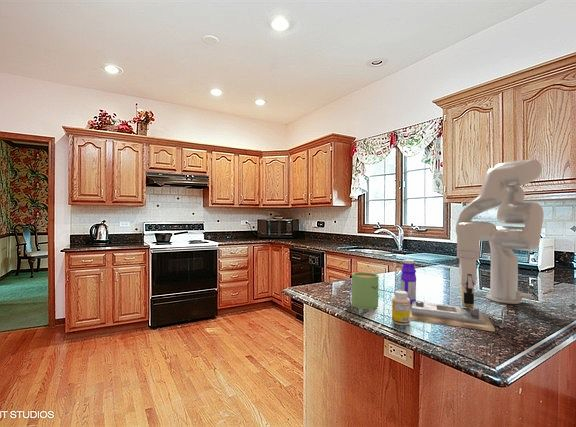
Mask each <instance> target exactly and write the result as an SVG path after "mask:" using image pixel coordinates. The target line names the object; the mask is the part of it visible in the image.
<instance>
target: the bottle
mask: <svg viewBox="0 0 576 427" xmlns="http://www.w3.org/2000/svg"><path fill="white" fill-rule="evenodd" d="M416 273H417V270H416V267H415V260H414V259H407V258H406V259H403V265H402V268H401V275H400V280H401V281H400V284H401V285H400V291H405V292H407V293H408V297H407V298H409V299H410V305H412V302H413V301H415V302H417V294H416V293H417V275H416Z"/></svg>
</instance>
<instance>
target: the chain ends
mask: <svg viewBox="0 0 576 427" xmlns="http://www.w3.org/2000/svg"><path fill="white" fill-rule="evenodd" d="M411 306H412V315H419V316H426V317H433V318H440V319H448V320H455V321H462V322H470V323H477V324H484V325H486V320H485V319H484V317H483V315H484V314H482V312H480V308H477V307H474V308H469V309H470V310H469V311H468V310H462V308H461V306H455V305H447V304H441V303H440V304H438V303H430V302H424V301H417V300H416V302H415V301H413V302H412V304H411Z"/></svg>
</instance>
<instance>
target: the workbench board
mask: <svg viewBox="0 0 576 427" xmlns="http://www.w3.org/2000/svg"><path fill="white" fill-rule="evenodd" d="M482 315H483V317H484V319H485V320H486V325H484V324H477V323H470V322H462V321H455V320H448V319H440V318H433V317H426V316H419V315H412V305H410V321H419V322H425V323H433V324H439V325H440V324H441V325H445V324H446V325H447V326H452V325H453V327H460V328H467V329H475V330H481V331H489V332H494V333H495V331H496V328H495V326H494V325H493V323H492V321H491V320H490V318H489V317H488V315H487V314H482Z"/></svg>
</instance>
